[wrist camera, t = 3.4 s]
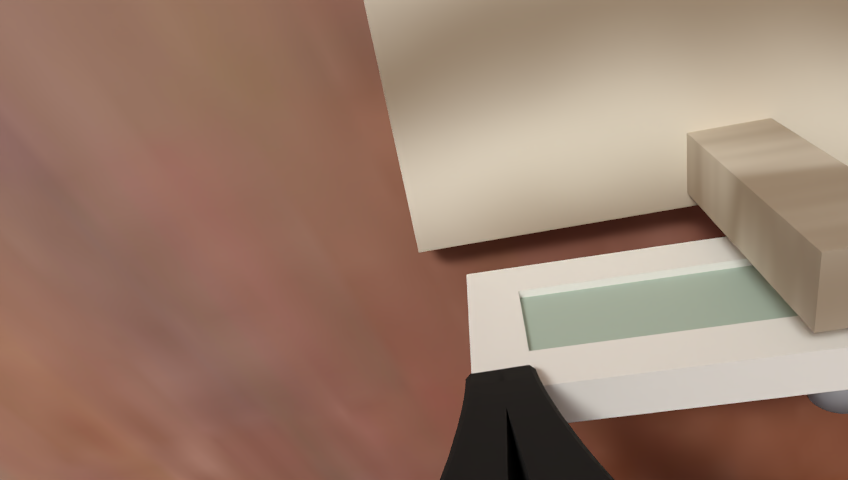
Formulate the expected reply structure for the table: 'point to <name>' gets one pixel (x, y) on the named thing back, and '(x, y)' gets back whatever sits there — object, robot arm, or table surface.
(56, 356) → the table surface
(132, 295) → the table surface
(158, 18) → the table surface
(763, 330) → the frame
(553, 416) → the robot arm
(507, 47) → the easel stand
